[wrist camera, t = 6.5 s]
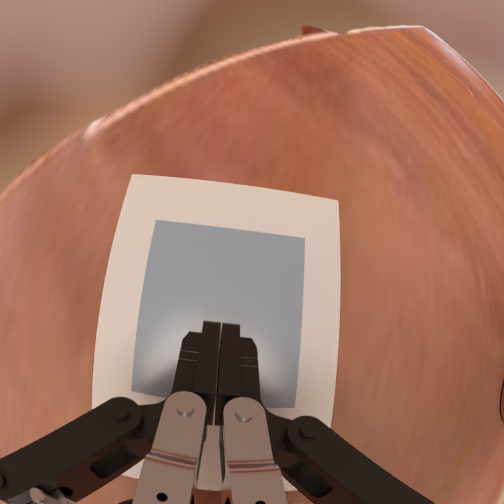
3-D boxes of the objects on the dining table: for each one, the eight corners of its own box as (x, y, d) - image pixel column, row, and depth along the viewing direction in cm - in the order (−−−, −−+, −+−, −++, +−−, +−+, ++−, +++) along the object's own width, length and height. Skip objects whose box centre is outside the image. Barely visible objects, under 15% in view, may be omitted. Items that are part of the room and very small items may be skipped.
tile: (294, 408, 14) (305, 238, 17) (131, 391, 13) (155, 219, 16) (284, 399, 16) (293, 251, 19) (142, 384, 15) (162, 234, 18)
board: (317, 484, 15) (320, 487, 14) (97, 463, 13) (94, 466, 12) (335, 204, 22) (338, 200, 21) (134, 178, 20) (132, 174, 20)
